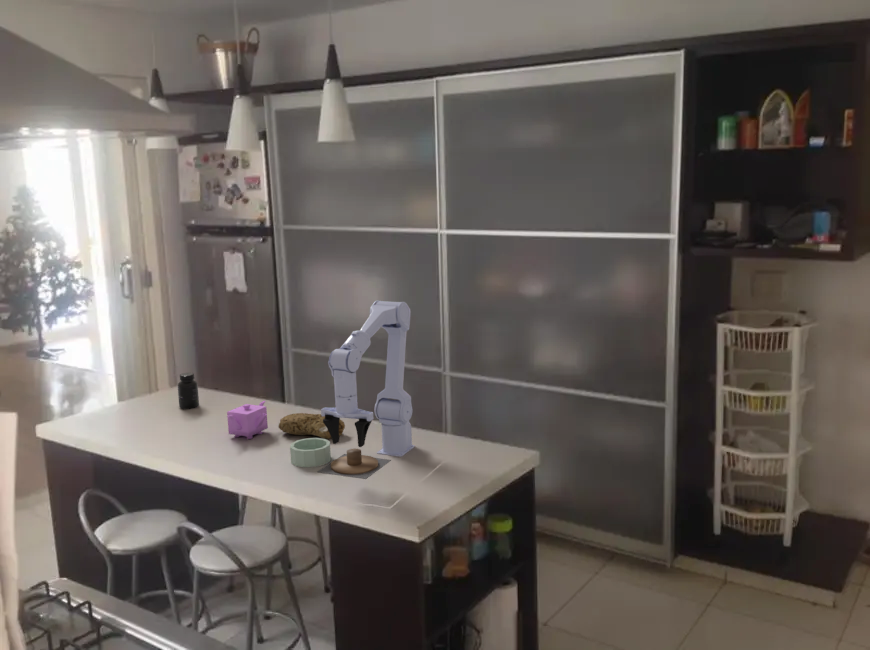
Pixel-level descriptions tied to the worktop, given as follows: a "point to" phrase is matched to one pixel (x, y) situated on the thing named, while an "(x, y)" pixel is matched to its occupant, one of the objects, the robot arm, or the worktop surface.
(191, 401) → the supplement bottle
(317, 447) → the bowl
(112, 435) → the worktop surface
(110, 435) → the worktop surface
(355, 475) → the mat
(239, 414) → the teapot
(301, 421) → the sponge
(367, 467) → the lid
